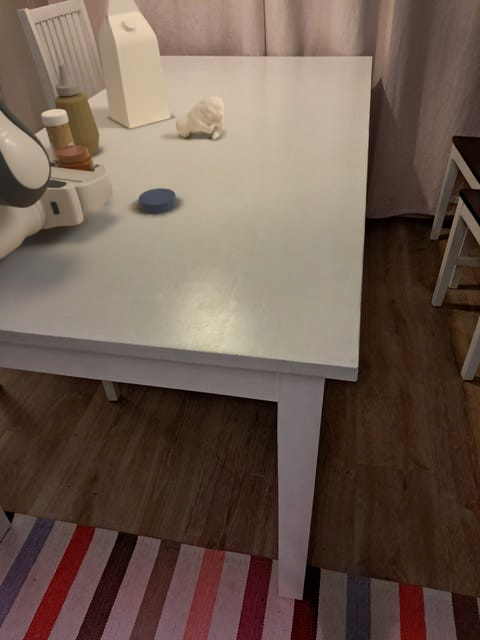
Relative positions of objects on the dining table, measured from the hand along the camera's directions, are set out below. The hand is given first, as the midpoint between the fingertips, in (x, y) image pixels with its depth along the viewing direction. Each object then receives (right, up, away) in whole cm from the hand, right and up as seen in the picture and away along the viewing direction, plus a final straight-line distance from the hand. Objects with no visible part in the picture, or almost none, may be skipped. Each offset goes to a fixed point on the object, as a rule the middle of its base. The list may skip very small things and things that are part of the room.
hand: (79, 166), depth 84 cm
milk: (+3, +25, +39) cm, 47 cm away
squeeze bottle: (-6, +10, +22) cm, 24 cm away
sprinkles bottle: (-5, 0, +10) cm, 11 cm away
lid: (+14, -6, 0) cm, 15 cm away
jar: (0, -5, +3) cm, 6 cm away
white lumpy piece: (+20, +16, +27) cm, 37 cm away
